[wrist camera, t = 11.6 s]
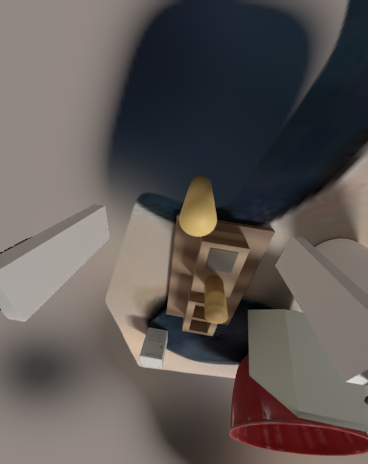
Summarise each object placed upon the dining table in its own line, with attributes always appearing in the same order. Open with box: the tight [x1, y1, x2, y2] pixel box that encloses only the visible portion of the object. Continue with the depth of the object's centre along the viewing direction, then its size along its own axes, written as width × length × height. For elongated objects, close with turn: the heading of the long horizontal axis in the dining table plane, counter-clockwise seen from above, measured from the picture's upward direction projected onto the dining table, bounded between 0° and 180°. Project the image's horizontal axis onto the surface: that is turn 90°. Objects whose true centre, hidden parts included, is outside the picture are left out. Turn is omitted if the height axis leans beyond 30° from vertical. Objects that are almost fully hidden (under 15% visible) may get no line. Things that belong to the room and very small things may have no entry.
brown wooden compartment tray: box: [166, 214, 275, 336], centre depth 28 cm, size 28×16×11 cm, turn 173°
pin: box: [179, 176, 217, 237], centre depth 18 cm, size 3×3×12 cm
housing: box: [248, 309, 368, 432], centre depth 27 cm, size 14×10×12 cm
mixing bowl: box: [229, 353, 368, 456], centre depth 40 cm, size 28×28×16 cm
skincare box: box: [140, 327, 168, 369], centre depth 44 cm, size 6×6×7 cm
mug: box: [315, 239, 368, 295], centre depth 23 cm, size 12×8×10 cm
